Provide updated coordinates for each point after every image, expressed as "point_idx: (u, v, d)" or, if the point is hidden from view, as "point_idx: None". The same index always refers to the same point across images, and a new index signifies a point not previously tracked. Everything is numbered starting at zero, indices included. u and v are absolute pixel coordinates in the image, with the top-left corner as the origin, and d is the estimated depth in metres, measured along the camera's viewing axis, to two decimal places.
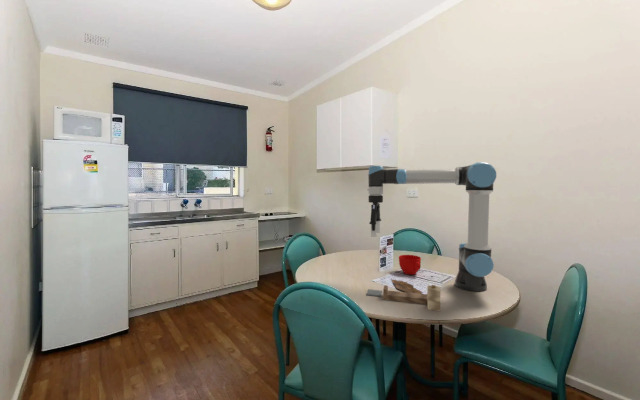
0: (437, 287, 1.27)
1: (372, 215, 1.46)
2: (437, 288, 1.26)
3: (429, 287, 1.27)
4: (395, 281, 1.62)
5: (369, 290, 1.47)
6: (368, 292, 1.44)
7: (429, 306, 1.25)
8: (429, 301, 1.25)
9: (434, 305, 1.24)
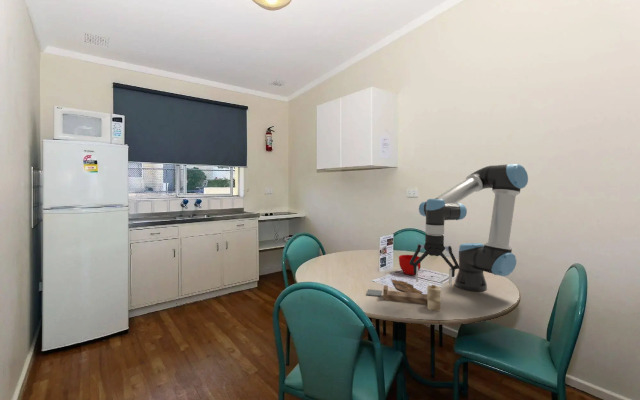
0: (437, 287, 1.27)
1: (413, 255, 1.29)
2: (437, 288, 1.26)
3: (429, 287, 1.27)
4: (395, 281, 1.62)
5: (369, 290, 1.47)
6: (368, 292, 1.44)
7: (429, 306, 1.25)
8: (429, 301, 1.25)
9: (434, 305, 1.24)
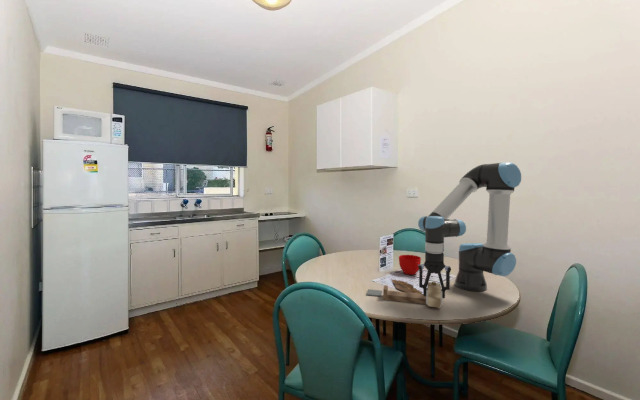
0: (437, 284, 1.27)
1: (419, 277, 1.29)
2: (437, 285, 1.26)
3: (429, 284, 1.27)
4: (395, 281, 1.62)
5: (369, 290, 1.47)
6: (368, 292, 1.44)
7: (429, 303, 1.25)
8: (429, 298, 1.25)
9: (435, 302, 1.25)
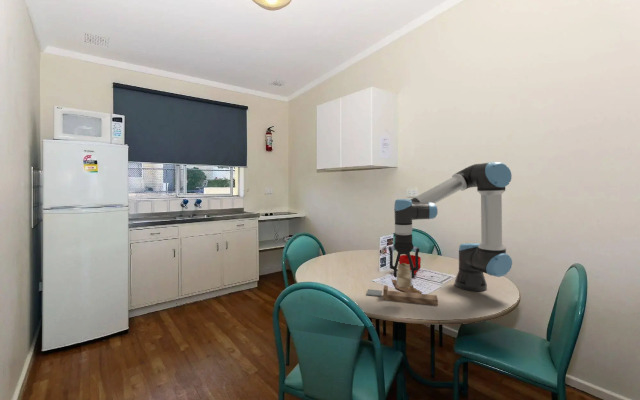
0: (407, 265, 1.31)
1: None
2: (407, 266, 1.29)
3: (399, 265, 1.31)
4: (395, 281, 1.62)
5: (369, 290, 1.47)
6: (368, 292, 1.44)
7: (399, 283, 1.29)
8: (399, 278, 1.29)
9: (404, 282, 1.28)
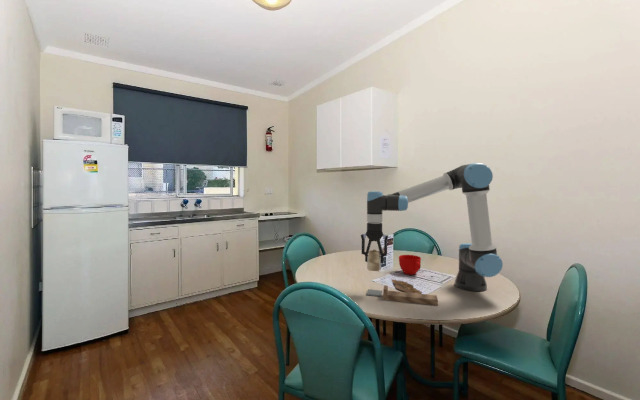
0: (377, 251, 1.44)
1: (362, 245, 1.46)
2: (377, 251, 1.43)
3: (370, 251, 1.44)
4: (395, 281, 1.62)
5: (369, 290, 1.47)
6: (368, 292, 1.44)
7: (369, 267, 1.42)
8: (369, 263, 1.42)
9: (374, 266, 1.41)
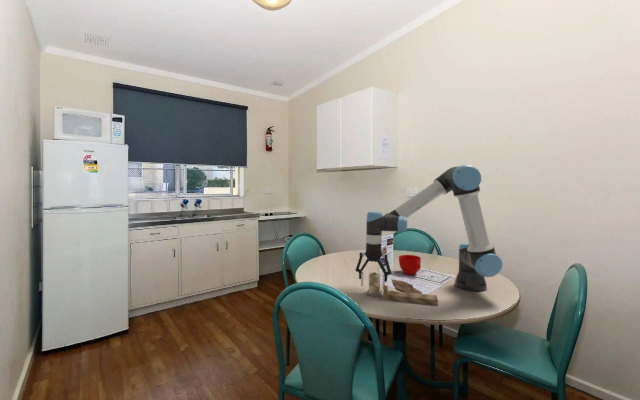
0: (377, 274, 1.45)
1: (358, 263, 1.47)
2: (377, 275, 1.43)
3: (370, 274, 1.45)
4: (395, 281, 1.62)
5: None
6: (368, 292, 1.44)
7: (370, 290, 1.43)
8: (370, 286, 1.42)
9: (374, 290, 1.42)
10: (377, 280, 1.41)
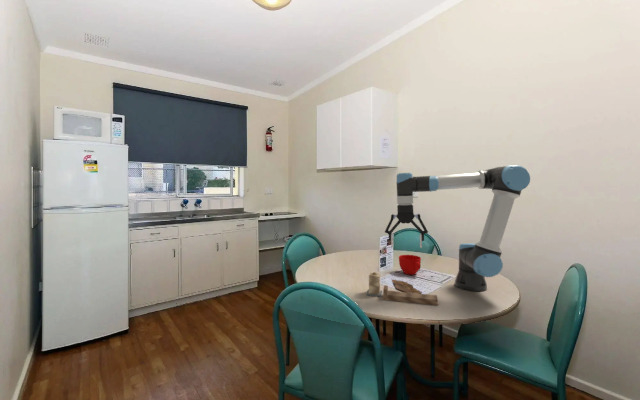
0: (377, 274, 1.45)
1: (388, 224, 1.45)
2: (377, 275, 1.43)
3: (370, 274, 1.45)
4: (395, 281, 1.62)
5: None
6: (368, 292, 1.44)
7: (370, 290, 1.43)
8: (370, 286, 1.42)
9: (374, 290, 1.42)
10: (377, 280, 1.41)
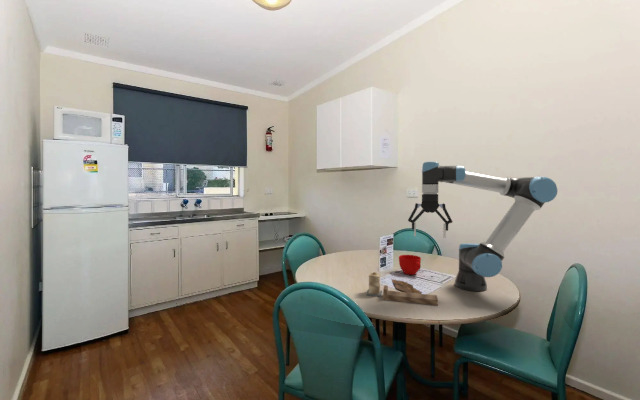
0: (377, 274, 1.45)
1: None
2: (377, 275, 1.43)
3: (370, 274, 1.45)
4: (395, 281, 1.62)
5: None
6: (368, 292, 1.44)
7: (370, 290, 1.43)
8: (370, 286, 1.42)
9: (374, 290, 1.42)
10: (377, 280, 1.41)
